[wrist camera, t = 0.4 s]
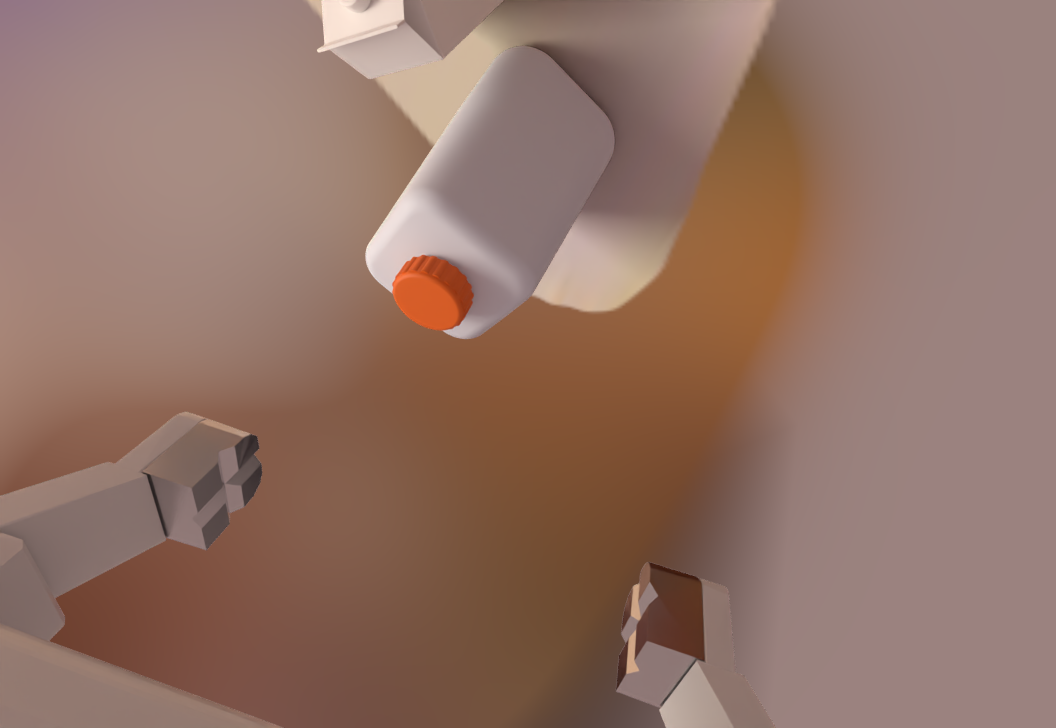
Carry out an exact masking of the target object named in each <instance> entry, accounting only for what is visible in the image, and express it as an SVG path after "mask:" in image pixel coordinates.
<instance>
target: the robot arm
mask: <svg viewBox="0 0 1056 728" xmlns="http://www.w3.org/2000/svg"><path fill="white" fill-rule="evenodd" d="M258 449H259V443H258V438H257V436H255V435H252V434H249V433H246V432H244V431H241V430H238V429H235V428H232V427H230V426H227V425H224V424H221V423H218V422H215V421H212V420H209V419H207V418H204V417H201V416H198V415H195V414H192V413H189V412H184V413H181V414H178V415H176V416H174V417H173V418H172V419H171V420H169V421H168V422H167V423H166V424H164V425H163V426H162V427H161V428H159V429H158V430H157V431H156V432H154V433H153V434H152V435H151V436H149V437H148V438H147V439H146V440H144V441H143V442H142V443H141V444H140V445H138V446H137V447H136V448H134V449H133V450H132V451H131V452H129V453H128V454H127V455H126V456H124V457H123V458H122V459H121V460H119V461H118V462H117V463H116V464H114V463H110V462H106V463H103V464H100V465H97V466H94V467H90V468H87V469H84V470H81V471H78V472H74V473H71V474H68V475H65V476H62V477H59V478H55V479H52V480H49V481H46V482H43V483H40V484H37V485H33V486H30V487H27V488H24V489H21V490H17V491H15V492H11V493H8V494H5V495H2V496H0V728H283V727H280V726H277V725H274V724H272V723H269V722H267V721H264V720H261V719H258V718H256V717H253V716H250V715H247V714H245V713H242V712H239V711H237V710H234V709H231V708H228V707H226V706H223V705H220V704H218V703H215V702H212V701H209V700H206V699H204V698H201V697H199V696H196V695H193V694H190V693H188V692H185V691H182V690H180V689H177V688H174V687H171V686H169V685H166V684H163V683H161V682H158V681H155V680H152V679H150V678H147V677H144V676H141V675H139V674H136V673H134V672H131V671H128V670H125V669H123V668H120V667H117V666H114V665H112V664H109V663H106V662H104V661H101V660H98V659H95V658H93V657H90V656H87V655H85V654H82V653H79V652H77V651H74V650H71V649H68V648H66V647H63V646H60V645H57V644H55V643H52V642H49V640H50V639H51V638H52V637H53V636H54V635H55V634H56V633H57V632H58V631H59V630H60V629H61V628H62V627H63V626H64V624H65V616H64V614H63V613H62V611H61V609H60V607H59V605H58V603H57V601H56V600H55V598H56V597H58V596H60V595H62V594H63V593H65V592H67V591H69V590H71V589H73V588H75V587H77V586H79V585H81V584H83V583H85V582H87V581H89V580H90V579H92V578H94V577H96V576H98V575H100V574H102V573H104V572H105V571H108V570H110V569H112V568H114V567H115V566H117V565H119V564H121V563H123V562H125V561H127V560H129V559H131V558H133V557H135V556H136V555H139V554H140V553H142V552H144V551H146V550H148V549H150V548H152V547H154V546H156V545H158V544H160V543H162V542H163V541H165V540H166V538H169V539H172V540H175V541H179V542H182V543H185V544H189V545H191V546H195V547H198V548H201V549H204V550H207V549H208V548H209V547H210V545H211V544H212V543H213V542H214V541H215V540H216V539H217V538H218V536H219V535H220V534H221V533H222V532H223V531H224V530H225V528H226V527H227V526H228V525H229V524H230V513H231V512H234V511H236V510H238V509H241V508H243V507H245V506H246V504H247V503H248V502H249V501H250V500H251V498H252V497H253V496H254V494H255V492H256V490H257V488H258V486H259V484H260V482H261V476H262V465H261V463H260V461H259V460H258V459H257V458H256V456H255V455H254V453H255V452H256V451H257V450H258ZM621 634H622V636H623V638H624V640H625V642H626V644H625V646H624V648H623V650H622V651H621V653H620V655H619V660H618V673H617V684H616V691H617V692H619V693H622V694H624V695H627V696H630V697H632V698H635V699H638V700H640V701H643V702H646V703H649V704H651V705H654V706H656V707H659V708H661V709H660V710H659V711H660V713H661V716H662V718H663V721H664V724H665V726H666V728H776V727H775V725H774V724H773V722H772V720H771V719H770V717H769V716H768V714H767V712H766V710H765V709H764V707H763V706H762V704H761V703H760V701H759V699H758V697H757V696H756V694H755V693H754V691H753V689H752V688H751V686H750V684H749V683H748V681H747V679H746V678H745V676H744V675H741V674H738V673H736V666H735V656H734V646H733V634H732V622H731V612H730V600H729V592H728V590H727V588H726V587H725V586H722V585H719V584H716V583H713V582H710V581H707V580H704V579H700V578H698V577H696V576H693V575H689V574H686V573H683V572H680V571H677V570H673V569H670V568H667V567H664V566H661V565H657V564H654V563H650V562H647V563H646V564H645V565H644V567H643V569H642V571H641V572H640V583H639V584H637V585H634V586H633V588H632V590H631V592H630V594H629V596H628V599H627V602H626V606H625V609H624V614H623V620H622V629H621Z"/></svg>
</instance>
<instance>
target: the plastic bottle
mask: <svg viewBox="0 0 1056 728" xmlns="http://www.w3.org/2000/svg"><path fill="white" fill-rule="evenodd" d="M614 146H615V136H614V131H613V127H612V124H611V122H610V120H609V119H608V117H607V116H606V114H605V113H604V112H603V111H602V110H601V109H600V108H599V107H598V106H597V104H596V103H595V102H594V101H593V100H592V99H591V98H590V97H589V96H588V95H587V94H586V93H585V92H584V91H583V90H582V89H581V88H580V87H579V86H578V85H577V84H576V83H575V82H574V81H573V80H572V79H571V78H570V77H569V76H568V75H567V73H566V72H565V71H564V70H563V69H562V68H561V67H560V66H559V65H558V64H557V63H556V62H555V61H554V60H553V59H552V58H551V57H550V56H549V55H547V54H546V53H544V52H543V51H541V50H539V49H536V48H533V47H529V46H516V47H512V48H509V49H507V50H505V51H503V52H502V53H500V54H499V55H498V56H497V57H496V58H495V59H494V60H493V62H492V63H491V64H490V66H489V67H488V69H487V70H486V71H485V73H484V74H483V76H482V77H481V78H480V80H479V81H478V83H477V84H476V85H475V87H474V88H473V90H472V91H471V92H470V94H469V95H468V97H467V98H466V99H465V101H464V102H463V104H462V105H461V106H460V108H459V109H458V111H457V112H456V114H455V115H454V117H453V118H452V120H451V121H450V123H449V124H448V126H447V127H446V129H445V130H444V132H443V133H442V135H441V136H440V138H439V139H438V141H437V142H436V144H435V145H434V147H433V148H432V150H431V151H430V153H429V154H428V156H427V157H426V159H425V160H424V162H423V163H422V165H421V166H420V168H419V169H418V171H417V172H416V174H415V175H414V177H413V178H412V180H411V181H410V183H409V184H408V186H407V187H406V189H405V190H404V192H403V193H402V195H401V196H400V198H399V199H398V201H397V202H396V204H395V205H394V207H393V208H392V210H391V211H390V213H389V214H388V216H387V217H386V219H385V220H384V222H383V223H382V225H381V226H380V228H379V229H378V231H377V232H376V234H375V235H374V237H373V238H372V240H371V241H370V243H369V244H368V247H367V250H366V263H367V266H368V269H369V271H370V273H371V274H372V275H373V277H374V278H375V279H376V280H377V281H378V282H379V283H380V284H381V285H383V286H384V287H385V288H386V289H388V290H389V291H390V292H391V293H393V295H394V298H395V301H396V303H397V304H398V306H399V308H400V309H401V310H402V312H403V313H404V314H405V315H406V316H407V317H409V318H410V319H411V320H413V321H414V322H416V323H417V324H420V325H421V326H424V327H426V328H429V329H433V330H442V331H444V332H445V333H447V334H449V335H451V336H453V337H457V338H461V339H471V338H475V337H478V336H480V335H481V334H483V333H484V332H485V331H487V330H488V329H490V328H491V327H492V326H494V325H495V324H496V323H497V322H499V321H500V320H501V319H503V318H504V317H506V316H507V315H508V314H509V313H511V312H512V311H513V310H514V309H516V308H517V307H518V306H520V305H521V304H522V303H523V302H525V301H526V300H527V299H528V298H529V297H530V296H531V295H532V294H533V292H534V291H535V289H536V287H537V285H538V284H539V282H540V280H541V279H542V277H543V275H544V273H545V272H546V270H547V268H548V266H549V265H550V263H551V261H552V260H553V258H554V256H555V254H556V253H557V251H558V249H559V248H560V246H561V244H562V242H563V241H564V239H565V237H566V235H567V234H568V232H569V230H570V229H571V227H572V225H573V223H574V222H575V220H576V218H577V216H578V215H579V213H580V211H581V210H582V208H583V206H584V204H585V203H586V201H587V199H588V198H589V196H590V194H591V192H592V191H593V189H594V187H595V185H596V184H597V182H598V180H599V179H600V177H601V175H602V173H603V172H604V170H605V168H606V167H607V165H608V163H609V161H610V159H611V157H612V155H613V151H614Z"/></svg>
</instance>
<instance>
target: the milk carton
mask: <svg viewBox="0 0 1056 728" xmlns="http://www.w3.org/2000/svg"><path fill="white" fill-rule="evenodd" d="M503 1H504V0H322V13H323V29H324V44H325V45H323V46H322V47H320V48H319V49H318V50H317V51H318V53H319V52H323V51H326V50H331V51H332V52H333V53H335V54H336V55H337V56H339V57H340V58H342V59H343V60H344V61H345V62H347V63H348V64H349V65H351V66H352V67H353V68H355V69H356V70H357V71H359V72H360V73H361V74H363V75H364V76H365V77H367V78H368V79H372V78H376V77H380V76H384V75H388V74H391V73H395V72H399V71H403V70H406V69H410V68H414V67H418V66H421V65H425V64H429V63H433V62H436V61H440V60H443V59H444V58H445V57H446V56H447V55H448V54H449V53H450V52H451V51H452V50H453V49H454V48H455V47H456V46H457V45H458V44H459V43H460V42H461V41H462V40H463V39H464V38H465V37H466V36H468V35H469V34H470V33H471V32H472V31H473V30H474V29H475V28H476V27H477V26H478V25H479V24H480V23H481V22H482V21H483V20H484V19H485V18H486V17H487V16H488V15H489V14H490V13H491V12H492V11H493V10H494V9H495V8H496V7H498V6H499V5H500V4H501V3H502V2H503Z"/></svg>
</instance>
